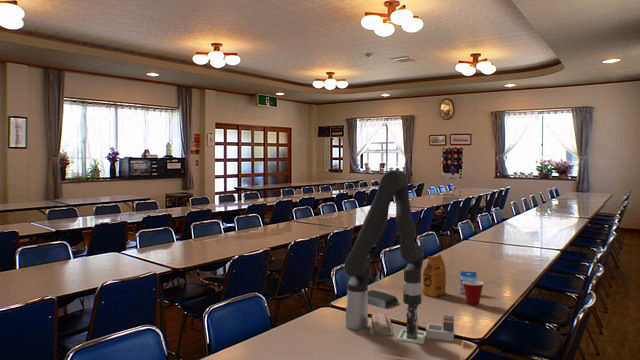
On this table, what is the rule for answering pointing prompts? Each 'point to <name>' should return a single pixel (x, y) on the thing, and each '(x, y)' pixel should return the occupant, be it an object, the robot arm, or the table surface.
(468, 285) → the plastic cup
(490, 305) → the table surface
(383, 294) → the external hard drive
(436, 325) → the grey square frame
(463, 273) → the label tape box
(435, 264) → the coffee package
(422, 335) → the tray
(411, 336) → the plug
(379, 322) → the packaged product
